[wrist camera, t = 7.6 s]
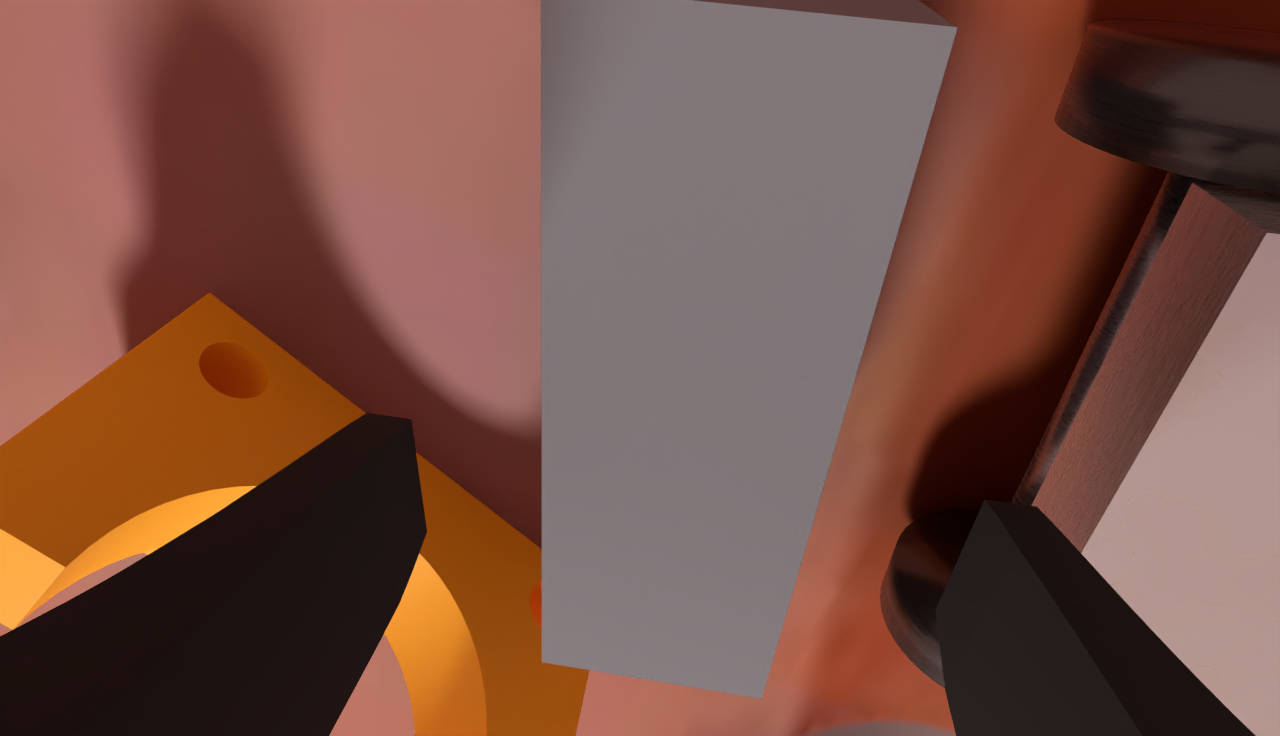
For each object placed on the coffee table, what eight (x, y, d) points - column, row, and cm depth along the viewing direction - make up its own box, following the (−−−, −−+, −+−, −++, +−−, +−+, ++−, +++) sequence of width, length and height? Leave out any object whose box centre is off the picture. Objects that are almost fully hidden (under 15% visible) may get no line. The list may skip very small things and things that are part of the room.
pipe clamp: (136, 391, 18) (-129, 607, 12) (214, 288, 16) (-62, 491, 10) (505, 649, 22) (423, 899, 16) (605, 592, 20) (550, 855, 14)
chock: (882, -26, 11) (958, 27, 7) (760, 502, 17) (761, 699, 13) (620, -51, 11) (541, -15, 7) (593, 478, 17) (541, 661, 13)
